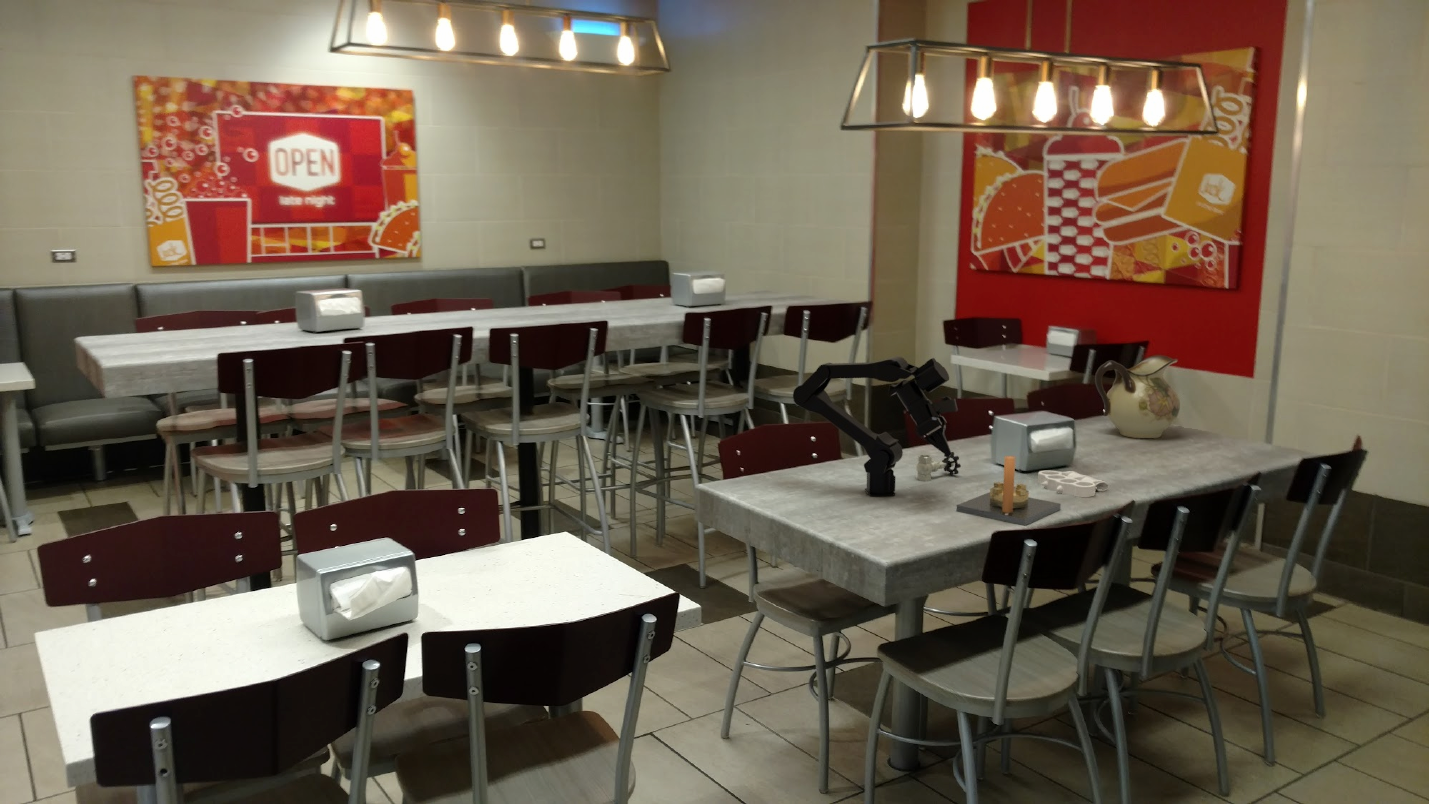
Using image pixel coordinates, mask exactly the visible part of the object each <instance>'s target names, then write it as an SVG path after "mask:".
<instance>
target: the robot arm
mask: <svg viewBox="0 0 1429 804" xmlns="http://www.w3.org/2000/svg"><path fill="white" fill-rule="evenodd" d="M935 358H936V357H935ZM935 358H934V357H932V358H930V359H928V360H927V361H926V362H925V363H924V364H922V365H920V366H917V365H913V364H911V363H908V362H907V360H906V359H905V358H904V357H902V356H894V357H889V358H886V359H885V358H884V359H880V360H877V361H873V362H871V361H870V362H869V361H868V362H840V363H839V362H838V363H837V362H835V363H833V362H825V363H823V364H820V365H818V367H817V368H816V370H815V371H814V372H813V374H811V375H810V376H809V377H808V378H807V379H806V380H805V381H804V382H803V383H802V384H801V385H798V386H797V387H795V389H794V390H793V393H792V398H793V402H794V404H796V406H798V407H800V408H802V409H804V410H805V411H807V412H810V413H814V414H817V415H820V417H823V418H824V419H825V420H826V421H828V422H829V423H831V424H832V425H833V426H835V427H836V428H838V429H839V430H840V431H842V433H844V434H845V435H847V436H848V437H849V438H851V439H852V440H854V441H855V442H856V443H857V444H859V445H860V446H861V447H862V448H863V449H864V451H865V452H866V454H867V457H868V458H869V459H868V460H867V461H866V462H865V463H864V464H863V466H864V467H863V468H864V471H865V473H866V487H865V488H864V491H865V492H866V493H867V495H868V496H870V497H889V496H890V497H891V496H892V497H893V496H896V493H895V491H896V475H894V472H895V471H894V469H893V468H895V467H896V464H897V463H898V462H899V461H901V459H902V457H903V455H904V454H903V447H902V445H901V444H900V443H899V439H897V438H894V437H892V436H891V434H889V432H887V431H884V432H882V433H880V434H879V433H876V432H873V430H871V429H870V428H868V427H867V426H866V425H864V424H863V423H861V422H860V421H859V420H857V419H856V417H853V416H852V415H851V414H849V413H848V412H846V411H845V410H844V409H842V408H841V407H840V406H838V405H837V404H836V403H834V402H833V400H832V399H831V398H830V396H829V394H828V393H827V391H826V390H825V389H827V388H828V387H829V384H830V382H831V380H832V379H834V380H835V379H836V380H837V379H873V380H876V381H880V382H881V381H882V382H886V383H895V382H898V381H900V380H901V381H900V382H899V383H897V384H889V386H888V387H889V388H888V393H887V396H888V397H892V396H894V395H897V397H898V399H899V400H900V402H901V403H902V405H903V406H904V408H905V409H906V413H907V414H908V416H910V417H911V419H912V420H913V422H914V423H915V426H916V427H915V433H916V435H917V436H918V438H919V439H921V438H922V439H923V440H924V441H926V442H927V443H928V444H930V445H931V446H933V447H934V448H936V449H937V450H938V451H940V453H942V454H945V455H947V456H950V455H951V454H952V453H951V452H952V451H951V449H950V446H949V443H948V440H947V438H946V434H945V431H946V428H947V427H946V426H947V425H946V424H947V423H948V422H947V420H946V419H945V417H944V416H943V415H941V414H946V413H950V412H951V413H955V412H958V411H959V410H958V405H957V401H956V398H951V397H950V396H948V395H947V396H943V397H941V400H940V401H937V402H933V401H932V400H931V399H929V398H928V397H927V396H926V394H925V393H924V392H928V393H931V392H933V391H934V390H936V389H938V388H939V387H941V386H943V384H945V383H947V382H948V381H949V380H950V376H949V375H950V374H949V372H948V371H947V368H945V367H944V366H943V364H941V363H940V362H938V361H937V360H936V359H935ZM911 377H913V378H912V379H910V380H907V379H908V378H911Z"/></svg>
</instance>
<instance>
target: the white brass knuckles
mask: <svg viewBox="0 0 1429 804" xmlns="http://www.w3.org/2000/svg"><path fill="white" fill-rule="evenodd" d="M1037 485H1039V486H1043V488H1044V489H1046V490H1048V489H1050V490H1049V491H1053V492H1055V491H1056V492H1059V493H1058V494H1061V493H1062V495H1067V494H1072V495H1074V496H1073V497H1075V496H1081V497H1089V496H1094V495H1095V493H1096V492H1095V491H1096V489H1095V487H1097V489H1102V490H1103V492H1105V491H1106V490H1108V489H1109V483H1107V482H1106V481H1104V480H1099V479H1097V478H1094V477H1092V476H1090V475H1084V474H1082V473H1078V472H1077V471H1072V470H1071V471H1069V470H1068V471H1059V470H1049V469H1048V470H1039V471H1038V474H1037ZM1056 492H1055V493H1056ZM1072 495H1071V496H1072ZM1095 496H1096V495H1095ZM1095 496H1094V497H1095Z"/></svg>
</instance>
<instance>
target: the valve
mask: <svg viewBox="0 0 1429 804" xmlns="http://www.w3.org/2000/svg"><path fill="white" fill-rule="evenodd" d="M951 453H952V454H951V455H950V456H947V455H945V454H944V453H943V454H944V455H943V457H944V458H943V459H942V460H941V461H939V462H937V461H935V460H933V459H932V455H930V454H919V455H917V462H918V463H917V464H916V471H917V475H916V476H917V477H916V478H917V481H922V482H928V481H931V480H932V474H931V473H935V472H938V471H939V470H942V469H943V471H944V472H947V473H948V476H954V475H958V474H959V470H958V469H960V468H961V467H962V466H961V463H958V461H959V460H960V459H959V458H960V457H959V456H958V455H956V456H955V452H954V451H951ZM950 459H952V460H950ZM952 467H953V468H952ZM951 468H952V469H951Z"/></svg>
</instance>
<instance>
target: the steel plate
mask: <svg viewBox="0 0 1429 804" xmlns="http://www.w3.org/2000/svg"><path fill="white" fill-rule="evenodd" d="M1060 510H1061V503H1060V502H1054V501H1049V500H1043V499H1039V498H1033V497H1029V496H1028V506H1026V507H1023V508H1013V512H1011V513H1006V512H1003V511H1002V507H998V506H994V505H992V504H991V503H990V491H989V492H986V493H984V494H981V495H979V496H976V497H974V498H971V499H968V500H966V501H963V502H961V503H958V504H956V512H959V513H963V514H969V515H973V516H978V517H983V518H988V519H991V520H992V519H993V520H997V521H1002V522H1007V523H1010V524H1011V523H1012V524H1016V525H1020V526H1025V527H1026V526H1027V525H1030V524H1031V523H1034V522H1036V521H1038V520H1040V519H1043V518H1045V517H1047V516H1049V515H1052V514H1054V513H1056V512H1058V511H1060ZM1055 511H1056V512H1055Z"/></svg>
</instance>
